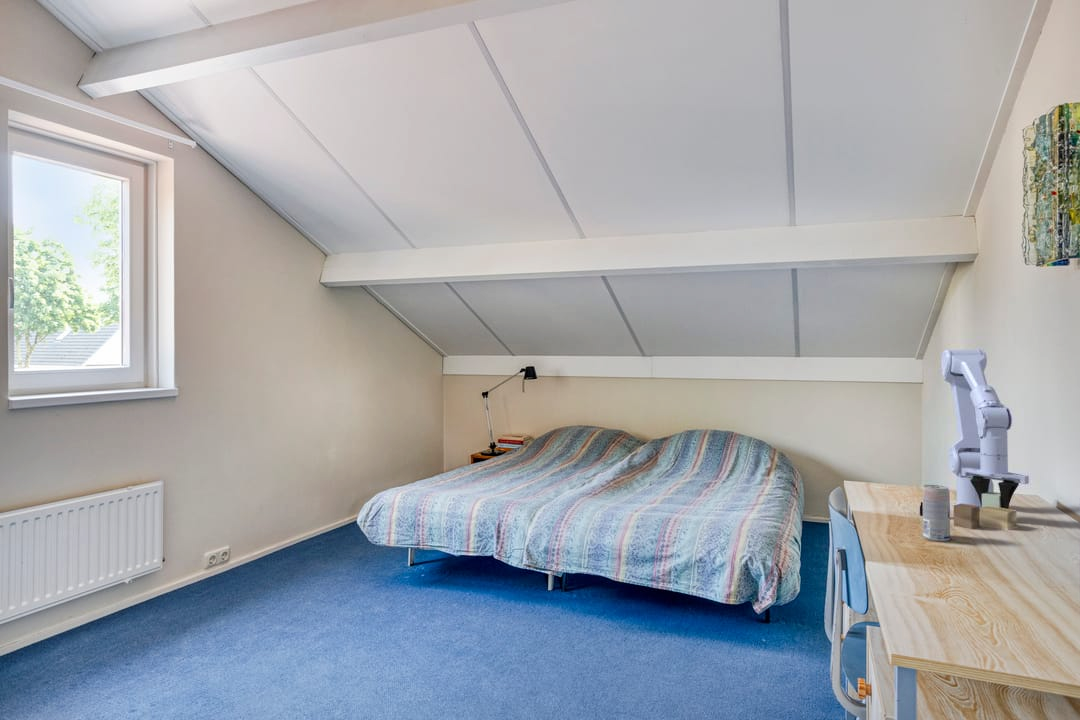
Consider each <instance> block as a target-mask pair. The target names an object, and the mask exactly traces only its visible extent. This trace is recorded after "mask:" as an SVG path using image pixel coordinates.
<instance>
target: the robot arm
mask: <svg viewBox="0 0 1080 720" xmlns="http://www.w3.org/2000/svg"><path fill="white" fill-rule="evenodd" d="M987 361H988V358H987V354H986V352H985V351H984V349H981V348H978V349H945V350H944V351H943V352H942V354H941V363H940V364H941V365H940V366H941V370H942V371H941V372H942V377H943V380H944V381H945V382H946V383H948V384H950V388H951V395H952V400H953V406H954V413H955V420H956V422H955V423H956V426H957V427H956V428H957V434H958V440H957V441H955V442H954V443H953V444H952V445H950V447H949V449H948V455H949V456H948V466H949V469H950V471H951V472H952V473H953V474H955V475H956V503H952V504H951V503H950V507H954V505H957V504H962V503H963V504H969V505H975V506H980V508H982V493H987V492H995V489H994V488H995V485H994V482H993V481H994V480H995V481H998V482H997V484H998V488H999V493H1000V495H1001V508H1005V509H1010V508H1009V507H1010V503H1011V500H1012V497H1013V495H1014V493H1015V491H1016V490H1017V488H1018V486H1019V484H1020V485H1028V484H1030V481H1029V480H1030V476H1029V475H1028V474H1027V475H1025V474H1021V473H1015V472H1009V457H1008V456H1009V455H1008V451H1009V450H1008V449H1009V448H1008V445H1009V444H1008V430H1010V429H1011V427H1012V424H1013V417H1012V412H1011V409H1010V407H1008V406H1006V404H1003V403H1002V402H1001V400H1000V398H999V396H998V394H997V392H996V390H995V388H994V387H993V386H991V385H988V382H987V379H986V375H985V369H986V367H987ZM999 481H1000V482H999Z"/></svg>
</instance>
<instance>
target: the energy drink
mask: <svg viewBox="0 0 1080 720" xmlns="http://www.w3.org/2000/svg"><path fill="white" fill-rule="evenodd" d="M950 495H951V494H950V490H949V487H948V486H945V485H939V484H924V485H923V488H922V502H923V516H922V537H923V538H924V539H925V540H927V541H932V542H938V543H939V542H940V543H947V542H949V541H950V540H951V521H950V520H951V514H950V513H951V512H950V511H951V509H950V507H951V506H950V505H951V503H950V502H951V501H950V500H951V499H950V498H951V497H950Z"/></svg>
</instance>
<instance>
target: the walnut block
mask: <svg viewBox="0 0 1080 720" xmlns="http://www.w3.org/2000/svg"><path fill="white" fill-rule="evenodd" d="M953 527H959V528H964V529H969V530H973V529H977V528H980V527H981V525H980V506H975V505H969V504H963V503H962V504H957V505H954V506H953Z"/></svg>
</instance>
